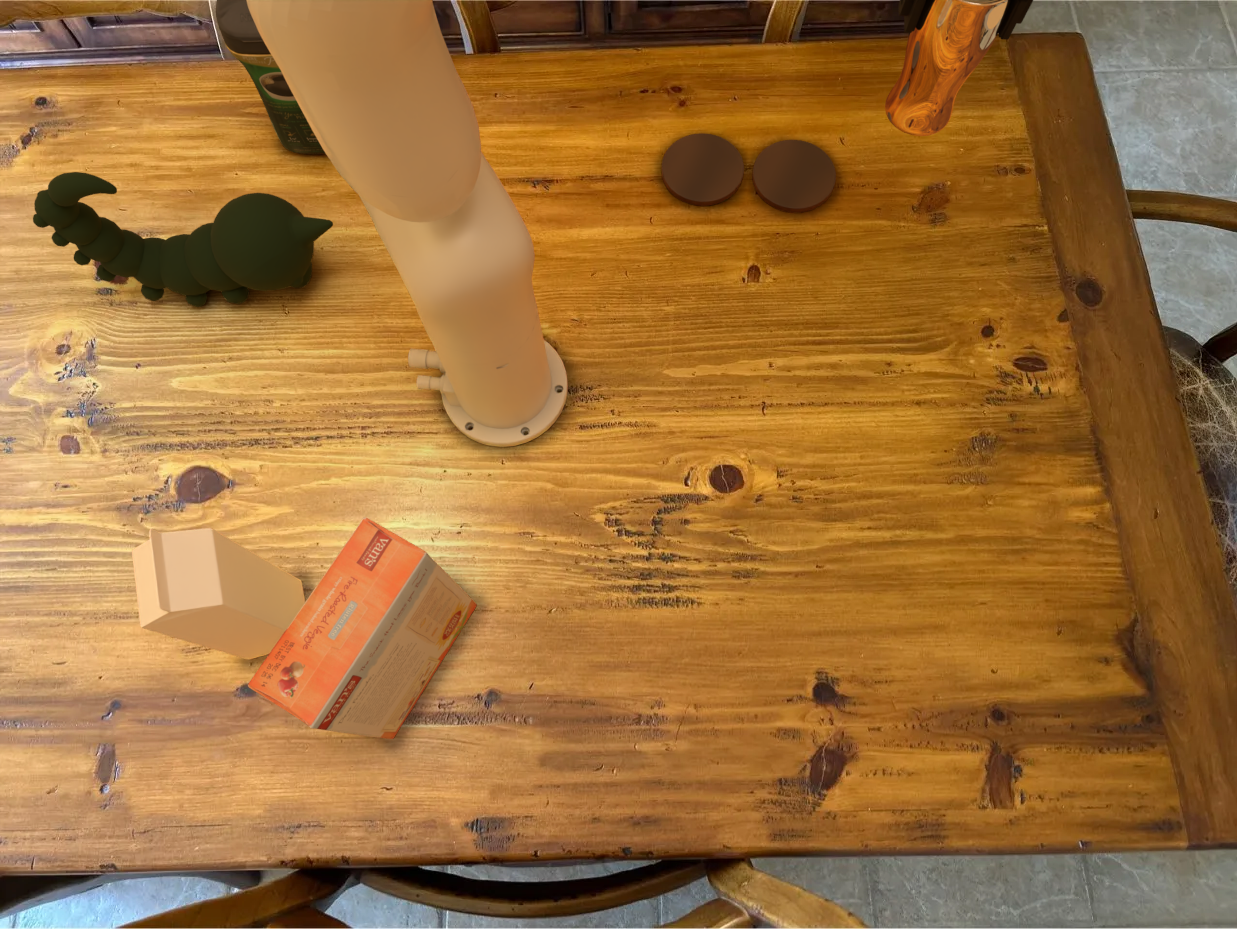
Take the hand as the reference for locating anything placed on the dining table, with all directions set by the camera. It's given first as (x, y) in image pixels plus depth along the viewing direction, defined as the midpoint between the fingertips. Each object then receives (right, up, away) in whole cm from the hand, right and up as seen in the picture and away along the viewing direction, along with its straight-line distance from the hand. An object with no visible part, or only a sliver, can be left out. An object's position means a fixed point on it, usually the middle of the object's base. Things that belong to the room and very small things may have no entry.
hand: (955, 21), depth 73 cm
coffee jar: (-61, +2, +28) cm, 67 cm away
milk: (-59, -51, +9) cm, 79 cm away
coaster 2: (-9, -5, +24) cm, 26 cm away
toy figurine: (-68, -17, +21) cm, 73 cm away
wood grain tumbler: (0, -3, +10) cm, 10 cm away
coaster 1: (-19, -4, +25) cm, 31 cm away
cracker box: (-47, -54, +8) cm, 72 cm away
